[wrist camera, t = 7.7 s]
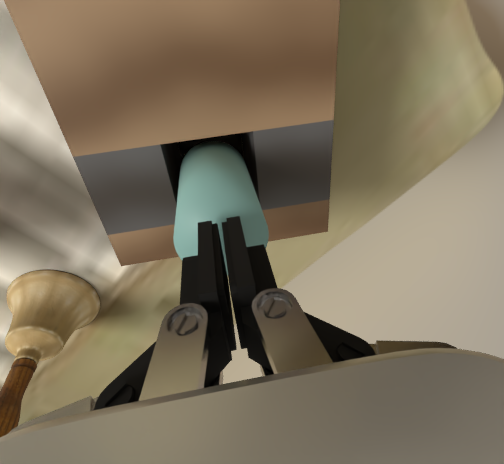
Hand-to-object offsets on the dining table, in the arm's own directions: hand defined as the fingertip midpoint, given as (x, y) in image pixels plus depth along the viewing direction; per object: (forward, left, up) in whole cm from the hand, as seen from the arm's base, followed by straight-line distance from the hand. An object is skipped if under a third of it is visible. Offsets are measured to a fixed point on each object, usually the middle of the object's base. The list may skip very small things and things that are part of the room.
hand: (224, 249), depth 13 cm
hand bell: (+14, -18, -15) cm, 27 cm away
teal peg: (0, 0, -9) cm, 9 cm away
